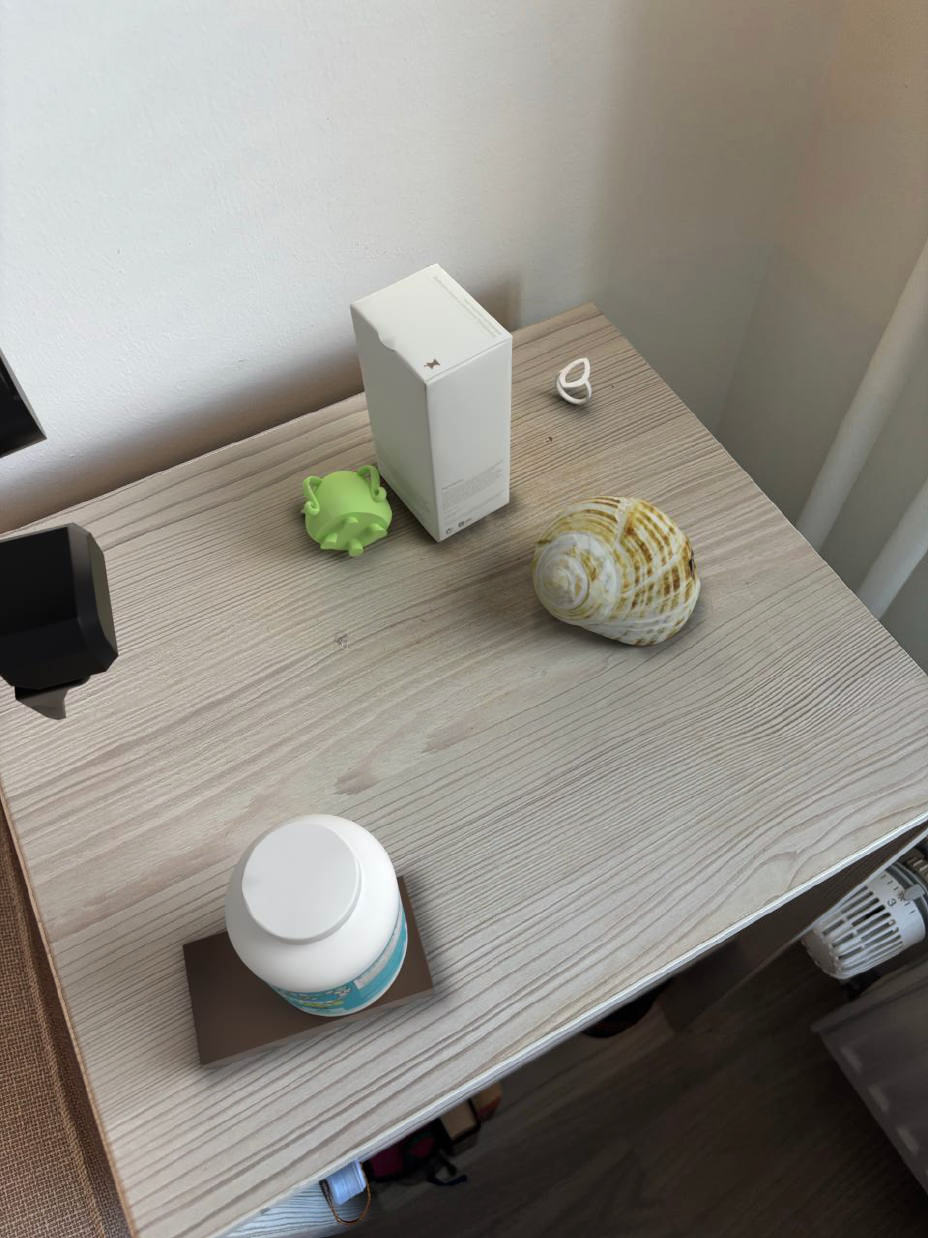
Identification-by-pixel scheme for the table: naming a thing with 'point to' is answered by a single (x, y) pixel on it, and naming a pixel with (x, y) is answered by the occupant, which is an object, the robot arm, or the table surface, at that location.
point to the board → (277, 998)
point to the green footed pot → (346, 509)
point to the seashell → (616, 570)
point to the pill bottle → (318, 914)
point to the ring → (581, 381)
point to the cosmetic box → (437, 398)
